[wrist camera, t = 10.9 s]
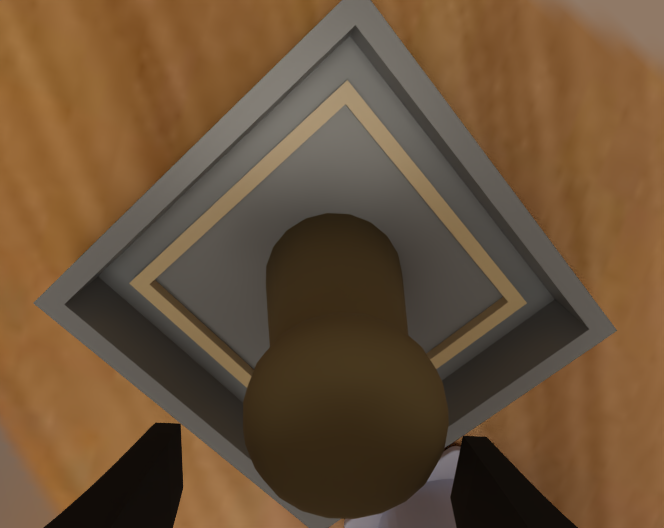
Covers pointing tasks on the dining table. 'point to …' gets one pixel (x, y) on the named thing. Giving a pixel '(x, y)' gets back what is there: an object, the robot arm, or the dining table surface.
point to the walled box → (315, 199)
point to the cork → (342, 376)
